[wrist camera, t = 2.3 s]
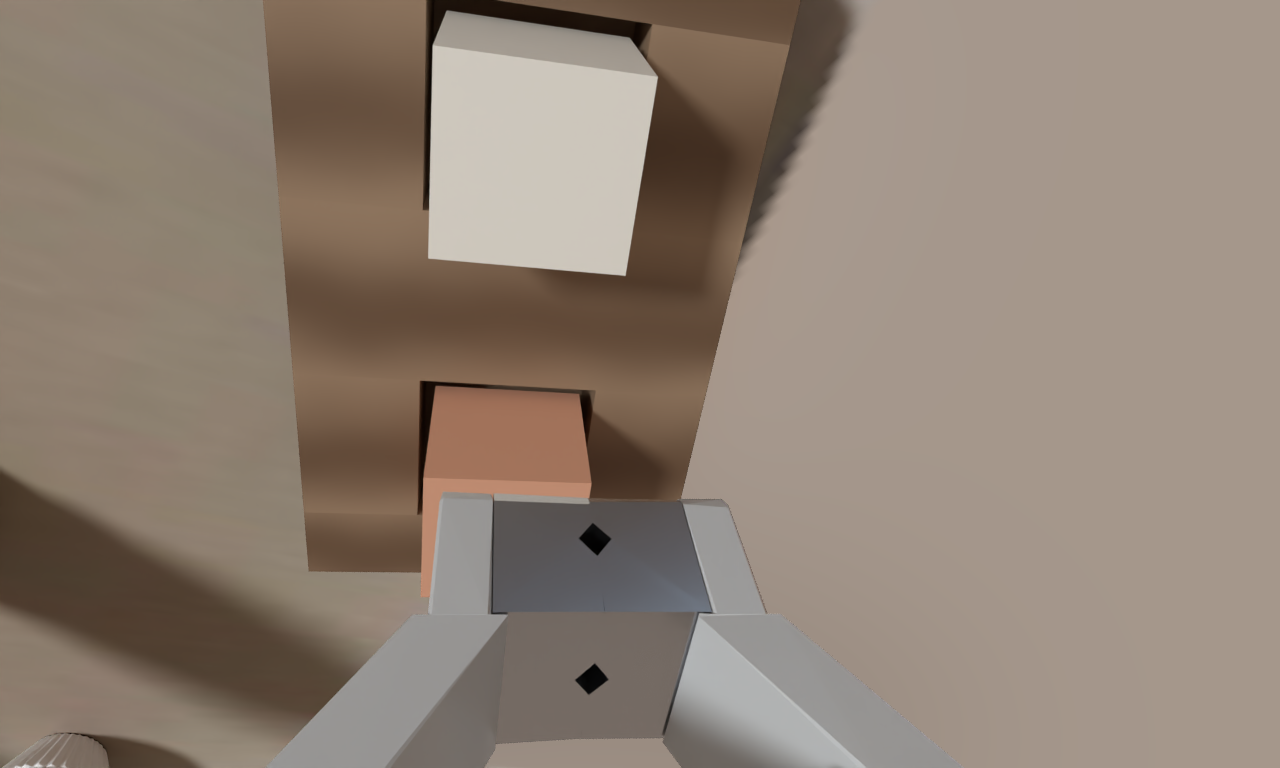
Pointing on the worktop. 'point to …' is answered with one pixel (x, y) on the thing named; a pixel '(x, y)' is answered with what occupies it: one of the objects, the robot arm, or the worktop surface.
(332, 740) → the robot arm
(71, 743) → the muffin
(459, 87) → the cream key
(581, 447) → the terracotta key
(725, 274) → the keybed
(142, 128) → the worktop surface
